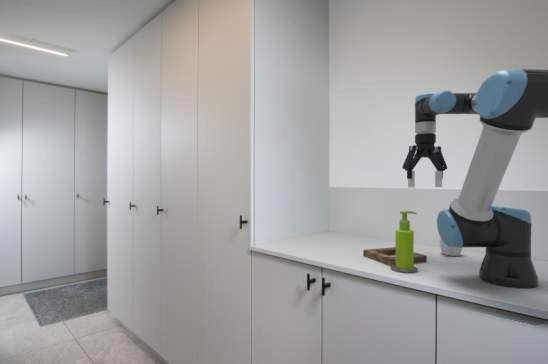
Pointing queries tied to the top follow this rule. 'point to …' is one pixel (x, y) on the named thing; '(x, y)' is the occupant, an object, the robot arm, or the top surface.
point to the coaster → (404, 270)
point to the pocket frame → (383, 256)
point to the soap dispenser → (404, 243)
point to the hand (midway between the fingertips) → (425, 187)
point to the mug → (449, 249)
